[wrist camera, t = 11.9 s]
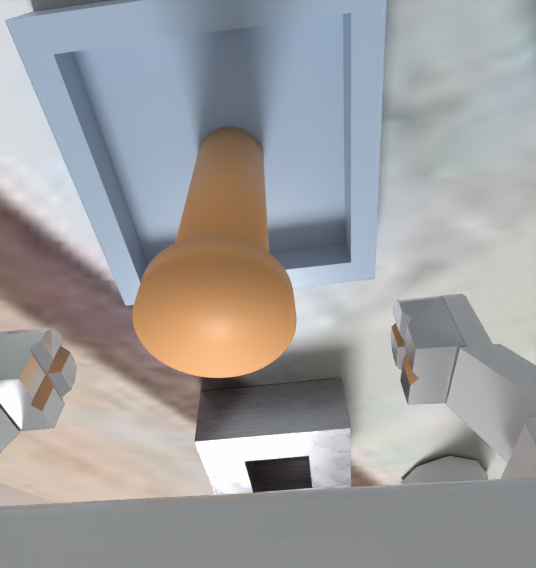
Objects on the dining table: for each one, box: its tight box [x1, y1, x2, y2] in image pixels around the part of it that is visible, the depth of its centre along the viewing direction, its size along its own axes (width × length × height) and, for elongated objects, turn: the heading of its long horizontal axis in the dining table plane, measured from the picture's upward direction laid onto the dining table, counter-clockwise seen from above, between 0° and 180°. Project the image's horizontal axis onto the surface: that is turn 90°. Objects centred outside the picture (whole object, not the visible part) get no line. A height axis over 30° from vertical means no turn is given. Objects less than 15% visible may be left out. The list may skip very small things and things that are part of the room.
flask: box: [401, 456, 488, 484], centre depth 35 cm, size 7×7×10 cm
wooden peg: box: [133, 127, 296, 378], centre depth 16 cm, size 4×4×11 cm
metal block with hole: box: [195, 378, 351, 495], centre depth 32 cm, size 10×10×4 cm
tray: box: [5, 0, 387, 305], centre depth 19 cm, size 13×13×2 cm
